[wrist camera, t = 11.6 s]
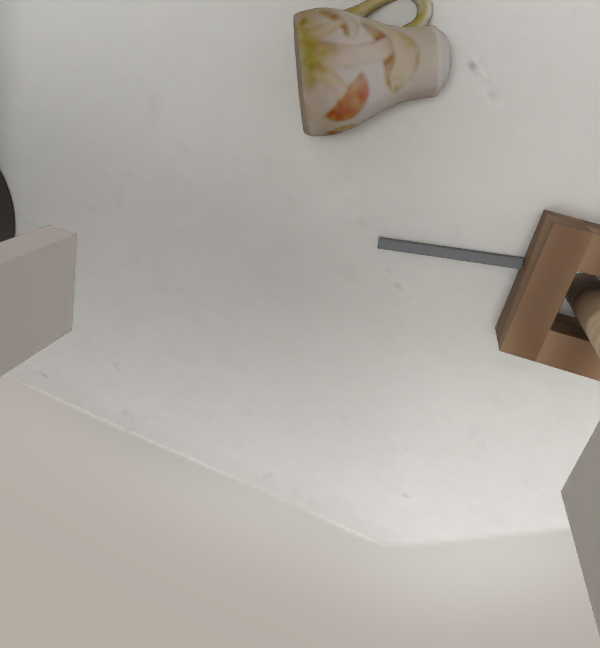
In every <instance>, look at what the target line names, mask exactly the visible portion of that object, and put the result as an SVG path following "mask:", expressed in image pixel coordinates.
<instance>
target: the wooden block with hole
mask: <svg viewBox="0 0 600 648" xmlns="http://www.w3.org/2000/svg"><path fill="white" fill-rule="evenodd" d="M577 271H580V272H584V273H587V274H591V275H595V276H598V277H600V225H599V224H595V223H591V222H588V221H584V220H580V219H576V218H573V217H569V216H565V215H561V214H558V213H554V212H550V211H547V210H544V212H543V214H542V216H541V219H540V221H539V224H538V226H537V228H536V231H535V233H534V236H533V238H532V241H531V243H530V245H529V248H528V250H527V253H526V255H525V257H524V260H523V264H522V268H521V269H520V270H519V272H518V274H517V277H516V279H515V282H514V284H513V286H512V289H511V291H510V294H509V296H508V299H507V301H506V303H505V306H504V308H503V311H502V313H501V315H500V318H499V320H498V323H497V325H496V327H495V329H496V334H497V340H498V345H499V351H502V352H506V353H509V354H512V355H515V356H519V357H522V358H525V359H529V360H532V361H535V362H539V363H542V364H545V365H548V366H552V367H555V368H558V369H562V370H565V371H568V372H572V373H575V374H578V375H581V376H585V377H588V378H591V379H595V380H598V381H600V358H599V357H598V355H597V353H596V351H595V349H594V348H593V346H592V344H591V342H590V340H589V339H588V337H587V335H586V333H585V331H584V330H583V328H582V326H581V324H580V322H579V321H578V319H576V318H573V317H569V316H566V315H562V314H559V313H558V311H559V309H560V307H561V304H562V302H563V300H564V298H565V296H566V294H567V291H568V289H569V287H570V285H571V283H572V281H573V278H574V276H575V274H576V272H577Z"/></svg>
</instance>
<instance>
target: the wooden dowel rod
mask: <svg viewBox="0 0 600 648" xmlns="http://www.w3.org/2000/svg"><path fill="white" fill-rule="evenodd" d="M565 297H566V299H567V301H568V303H569V304H570V306H571V308H572V310H573V312H574V313H575V315H576V317H577V319H578V321H579V322H580V324H581V326H582V328H583V330H584V331H585V333H586V335H587V337H588V339H589V340H590V342H591V344H592V346H593V348H594V349H595V351H596V353H597V355H598V357H599V358H600V280H599V279H598V278H597V277H596V276H594V275H591V274H587V273H580V274H577V275H575V276H574V278H573V281H572V283H571V285H570V287H569V289H568V291H567V294H566V296H565Z"/></svg>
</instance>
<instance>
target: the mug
mask: <svg viewBox="0 0 600 648" xmlns="http://www.w3.org/2000/svg"><path fill="white" fill-rule="evenodd" d="M391 1H394V0H367V1H364V2H362V3H360V4H359V5H356V6H354V7H352V8H349V9H346V10H339V9H332V8H314V9H310V10H306V11H302V12H299V13H297V14H295V15H294V40H295V55H296V66H297V78H298V89H299V98H300V107H301V115H302V123H303V130H304V133H305V134H307V135H310V136H326V135H333V134H336V133H339V132H342V131H345V130H347V129H350V128H352V127H354V126H355V125H357V124H359V123H361V122H363V121H365V120H366V119H368V118H370V117H372V116H374V115H375V114H377V113H379V112H381V111H382V110H384V109H386V108H388V107H390V106H392V105H394V104H397V103H400V102H403V101H407V100H412V99H419V98H428V97H433V96H435V95H436V94H437V93H438V92H439V91H440V90H441V89H442V88H443V87H444V86H445V84H446V82H447V80H448V77H449V74H450V67H451V48H450V44H449V41H448V39H447V37H446V35H445V34H444V33H443V32H441V31H440V30H438V29H437V28H436V27H435V26H432V25H429V26H426V25H427V23H428V22H429V20H430V19H431V17H432V10H433V7H432V2H431V1H430V0H412V1H414V2H415V3H416V6H417V12H418V14H417V16H416V18H415V19H414V20H413V21H412V22H411V23H409V24H407V25H405V26H403V27H394V26H388V25H385V24H382V23H379V22H376V21H373V20H370V19H367V18H364V17H366V16H367V15H369V14H370V13H371V12H373V11H374V10H376V9H378V8H379V7H381V6H383V5H385V4H387V3H388V2H391Z"/></svg>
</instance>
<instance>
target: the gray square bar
mask: <svg viewBox="0 0 600 648" xmlns="http://www.w3.org/2000/svg"><path fill="white" fill-rule="evenodd" d="M378 248H379V249H386V250H393V251H400V252H407V253H413V254H420V255H427V256H434V257H441V258H448V259H455V260H462V261H468V262H475V263H482V264H489V265H496V266H503V267H510V268H516V269H521V268H522V264H523V260H524V259H523V257H516V256H509V255H502V254H494V253H487V252H480V251H473V250H466V249H459V248H452V247H445V246H438V245H431V244H424V243H417V242H410V241H403V240H396V239H389V238H382V237H380V238H379V242H378Z"/></svg>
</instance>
